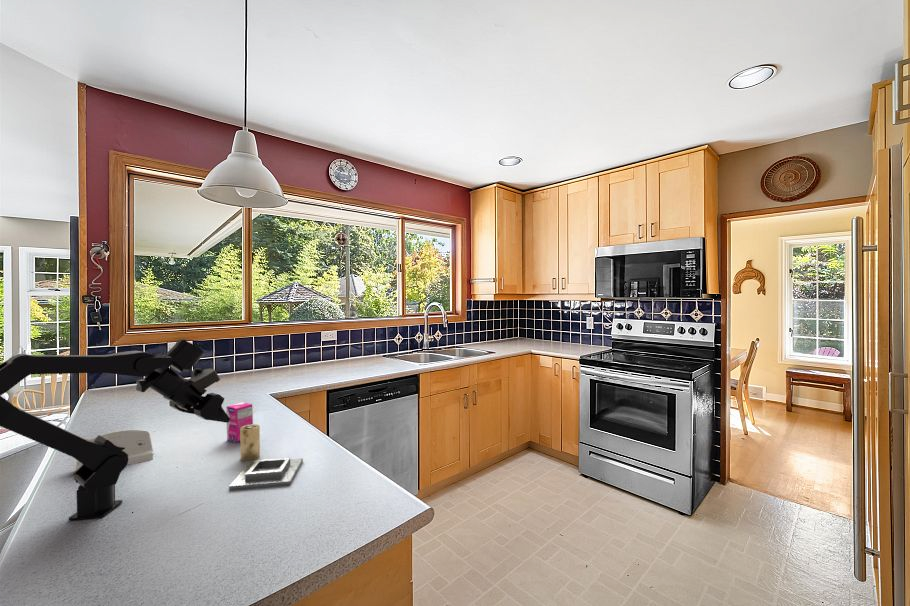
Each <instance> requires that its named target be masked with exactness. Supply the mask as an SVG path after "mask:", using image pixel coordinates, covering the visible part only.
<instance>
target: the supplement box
mask: <svg viewBox="0 0 910 606" xmlns="http://www.w3.org/2000/svg"><path fill="white" fill-rule="evenodd" d="M225 408H226V409H225V410H226V411H225V412H226V414H227V415H228V416H229V418H230V421H229V422H228V423H226V440H227V441H230V442H234V443H237V444H238V443H240V428H241V427H243V426H246V425H252V424H254V422H253V421H254V420H253V418H254V417H253V414H254V413H253V404H252V403H248V402H243V401H240V402H238V403H234V404H231V405H226V407H225Z"/></svg>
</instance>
